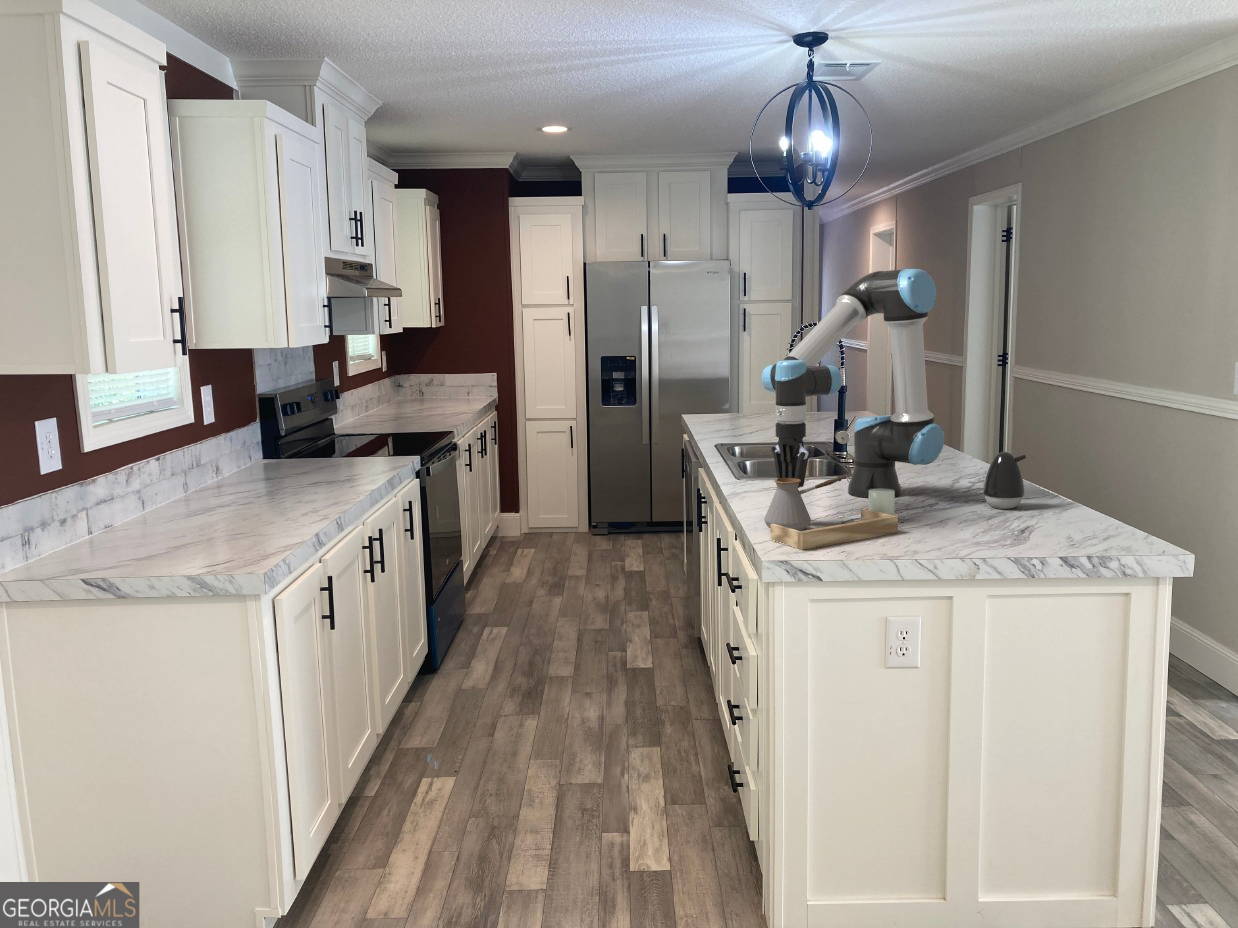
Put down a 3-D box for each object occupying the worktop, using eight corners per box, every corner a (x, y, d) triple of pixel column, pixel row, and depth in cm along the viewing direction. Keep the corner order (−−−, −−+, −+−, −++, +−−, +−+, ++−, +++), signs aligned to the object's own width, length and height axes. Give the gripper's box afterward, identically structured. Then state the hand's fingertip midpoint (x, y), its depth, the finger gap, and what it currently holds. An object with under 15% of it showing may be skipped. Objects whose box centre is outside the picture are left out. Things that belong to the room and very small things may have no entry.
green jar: (862, 520, 242) (863, 490, 240) (881, 517, 245) (881, 487, 243) (881, 525, 236) (881, 494, 235) (899, 521, 239) (900, 491, 238)
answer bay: (770, 540, 223) (770, 524, 222) (863, 524, 237) (863, 508, 237) (802, 550, 213) (802, 533, 212) (897, 532, 227) (897, 516, 227)
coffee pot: (757, 533, 230) (757, 474, 228) (772, 524, 240) (772, 466, 238) (843, 541, 220) (844, 478, 218) (855, 530, 230) (856, 471, 228)
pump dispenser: (1028, 511, 246) (1030, 454, 244) (986, 511, 249) (988, 454, 246) (1019, 503, 256) (1022, 449, 254) (979, 503, 258) (981, 449, 256)
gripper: (762, 420, 239) (763, 510, 243) (795, 425, 228) (795, 519, 231) (786, 418, 243) (786, 507, 246) (819, 422, 231) (818, 515, 235)
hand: (790, 513), depth 239 cm, fingers closed
